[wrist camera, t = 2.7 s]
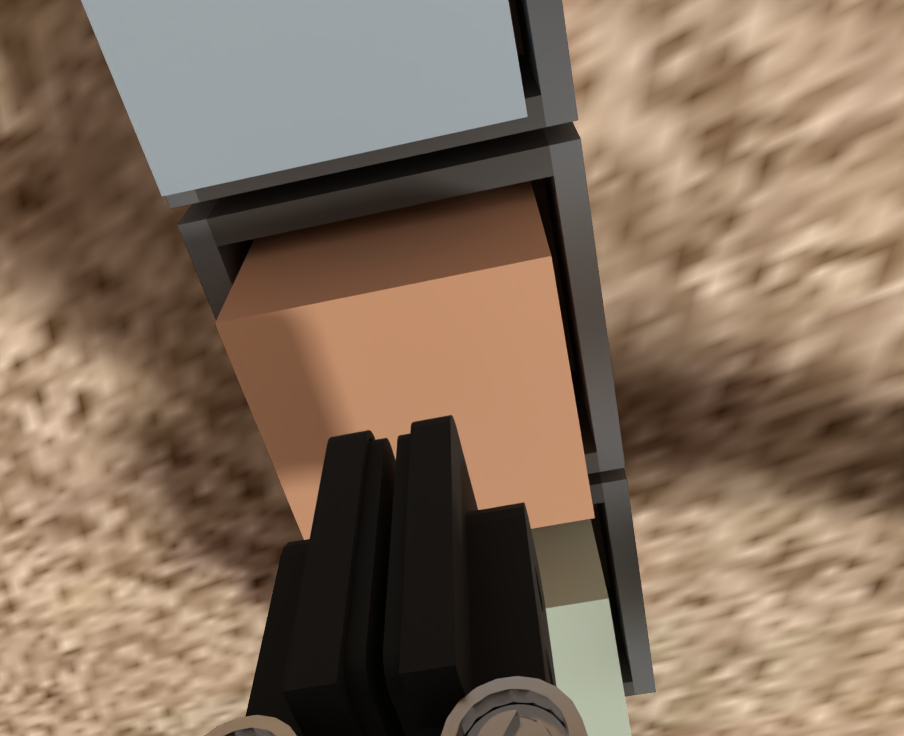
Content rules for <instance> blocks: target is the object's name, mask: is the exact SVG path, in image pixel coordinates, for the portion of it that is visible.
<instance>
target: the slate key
mask: <svg viewBox="0 0 904 736" xmlns="http://www.w3.org/2000/svg"><path fill="white" fill-rule="evenodd" d="M81 2H82V4H83V7H84V9H85V11H86V14H87V16H88V19H89V21H90V24H91V26H92V28H93V31H94V33H95V36H96V38H97V40H98V43H99V45H100V48H101V50H102V53H103V55H104V57H105V60H106V62H107V65H108V67H109V70H110V72H111V74H112V77H113V79H114V82H115V84H116V87H117V89H118V91H119V94H120V96H121V99H122V101H123V103H124V106H125V108H126V111H127V113H128V116H129V118H130V120H131V123H132V125H133V128H134V130H135V133H136V135H137V137H138V140H139V142H140V145H141V147H142V150H143V152H144V154H145V157H146V159H147V162H148V164H149V166H150V169H151V171H152V174H153V176H154V179H155V181H156V183H157V186H158V188H159V191H160V193H161V196H167V195H171V194H176V193H181V192H185V191H190V190H194V189H199V188H203V187H208V186H213V185H217V184H222V183H226V182H231V181H236V180H240V179H245V178H249V177H254V176H258V175H263V174H268V173H272V172H277V171H281V170H286V169H291V168H295V167H300V166H304V165H309V164H313V163H318V162H323V161H327V160H332V159H336V158H341V157H346V156H350V155H355V154H359V153H364V152H368V151H373V150H378V149H382V148H387V147H391V146H396V145H401V144H405V143H410V142H414V141H419V140H423V139H428V138H433V137H437V136H442V135H446V134H451V133H456V132H460V131H465V130H469V129H474V128H478V127H483V126H488V125H492V124H497V123H501V122H506V121H511V120H515V119H520V118H524V117H528V116H527V110H526V104H525V98H524V92H523V86H522V80H521V74H520V68H519V62H518V56H517V50H516V44H515V38H514V32H513V26H512V20H511V14H510V8H509V2H508V0H81Z"/></svg>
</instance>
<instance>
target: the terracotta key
mask: <svg viewBox="0 0 904 736" xmlns="http://www.w3.org/2000/svg"><path fill="white" fill-rule="evenodd" d="M215 325H216V328H217V330H218V333H219V335H220V337H221V340H222V342H223V345H224V347H225V350H226V352H227V354H228V357H229V359H230V362H231V364H232V367H233V369H234V371H235V374H236V376H237V379H238V381H239V384H240V386H241V388H242V391H243V393H244V396H245V398H246V400H247V403H248V405H249V408H250V410H251V413H252V415H253V417H254V420H255V422H256V425H257V427H258V430H259V432H260V434H261V437H262V439H263V442H264V444H265V447H266V449H267V451H268V454H269V456H270V459H271V461H272V464H273V466H274V468H275V471H276V473H277V476H278V478H279V481H280V483H281V485H282V488H283V490H284V493H285V495H286V497H287V500H288V502H289V505H290V507H291V510H292V512H293V514H294V517H295V519H296V522H297V524H298V527H299V529H300V531H301V534H302V536H303V539H304V540H307V539H310V534H311V529H312V523H313V518H314V512H315V507H316V502H317V496H318V491H319V485H320V480H321V474H322V469H323V463H324V458H325V452H326V447H327V442H328V439H329V438H330V437H333V436H339V435H344V434H350V433H355V432H361V431H366V430H370V431H372V433H373V435H374V437H375V440H377V439H382V438H387V439H388V440H389V442H390V444H391V447H392V450H393V453H394V456H395V460H396V451H397V439H398V436H399V435H404V434H410V431H411V423H412V422H415V421H421V420H426V419H432V418H437V417H443V416H448V415H452V416H453V418H454V420H455V424H456V427H457V431H458V435H459V438H460V442H461V446H462V450H463V454H464V458H465V461H466V465H467V469H468V473H469V477H470V480H471V484H472V488H473V492H474V496H475V500H476V503H477V507H478V510H482V509H488V508H494V507H500V506H505V505H511V504H517V503H523V502H524V503H525V506H526V509H527V513H528V518H529V522H530V527H531V529H533V528H539V527H545V526H551V525H556V524H562V523H568V522H574V521H580V520H586V519H592V518H595V516H594V510H593V504H592V498H591V492H590V486H589V480H588V474H587V468H586V461H585V455H584V449H583V443H582V437H581V431H580V425H579V419H578V413H577V407H576V401H575V395H574V389H573V383H572V377H571V371H570V365H569V359H568V353H567V347H566V341H565V335H564V329H563V323H562V317H561V311H560V305H559V299H558V293H557V287H556V281H555V275H554V269H553V263H552V257H551V253H550V249H549V246H548V242H547V239H546V235H545V231H544V228H543V224H542V221H541V217H540V213H539V210H538V206H537V203H536V199H535V195H534V192H533V188H532V185H531V181H527V182H522V183H517V184H512V185H508V186H503V187H498V188H493V189H489V190H484V191H479V192H474V193H470V194H465V195H460V196H455V197H451V198H446V199H441V200H436V201H432V202H427V203H422V204H417V205H413V206H408V207H403V208H398V209H394V210H389V211H384V212H379V213H375V214H370V215H365V216H360V217H356V218H351V219H346V220H341V221H337V222H332V223H327V224H322V225H318V226H313V227H308V228H303V229H299V230H294V231H289V232H284V233H280V234H275V235H270V236H265V237H261V238H256V239H254V241H253V243H252V245H251V247H250V249H249V251H248V254H247V256H246V258H245V260H244V262H243V264H242V266H241V269H240V271H239V273H238V275H237V277H236V279H235V281H234V284H233V286H232V288H231V290H230V292H229V294H228V297H227V299H226V301H225V303H224V305H223V307H222V309H221V312H220V314H219V316H218V318H217V320H216V322H215Z"/></svg>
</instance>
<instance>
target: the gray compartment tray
mask: <svg viewBox="0 0 904 736" xmlns="http://www.w3.org/2000/svg"><path fill="white" fill-rule="evenodd" d="M508 2H509V8H510V14H511V20H512V26H513V32H514V38H515V44H516V50H517V56H518V62H519V68H520V74H521V80H522V86H523V92H524V98H525V104H526V110H527V116H528V117H524V118H520V119H515V120H511V121H506V122H501V123H497V124H492V125H488V126H483V127H478V128H474V129H469V130H465V131H460V132H456V133H451V134H446V135H442V136H437V137H433V138H428V139H423V140H419V141H414V142H410V143H405V144H401V145H396V146H391V147H387V148H382V149H378V150H373V151H368V152H364V153H359V154H355V155H350V156H346V157H341V158H336V159H332V160H327V161H323V162H318V163H313V164H309V165H304V166H300V167H295V168H291V169H286V170H281V171H277V172H272V173H268V174H263V175H258V176H254V177H249V178H245V179H240V180H236V181H231V182H226V183H222V184H217V185H213V186H208V187H203V188H199V189H194V190H190V191H185V192H181V193H176V194H171V195H167V196H166V199H167V201H168V204H169V206H170V208H175V207H180V206H184V205H189V204H192V205H191V206H190V208H189V209H188V211H187V212H186V214H185V215H184V216H183V218H182V219H181V221H180V222H179V224H178V225H177V226H178V228H179V230H180V233H181V235H182V238H183V240H184V243H185V245H186V248H187V250H188V252H189V255H190V257H191V260H192V262H193V265H194V267H195V269H196V272H197V274H198V277H199V279H200V282H201V284H202V287H203V289H204V291H205V294H206V296H207V299H208V301H209V304H210V306H211V308H212V311H213V313H214V316H215V318H216V320H217V318H218V316H219V314H220V312H221V309H222V307H223V305H224V303H225V301H226V299H227V297H228V294H229V292H230V290H231V288H232V286H233V284H234V281H235V279H236V277H237V275H238V273H239V271H240V269H241V266H242V264H243V262H244V260H245V258H246V256H247V254H248V251H249V249H250V247H251V245H252V243H253V241H254V239H256V238H261V237H265V236H270V235H275V234H280V233H284V232H289V231H294V230H299V229H303V228H308V227H313V226H318V225H322V224H327V223H332V222H337V221H341V220H346V219H351V218H356V217H360V216H365V215H370V214H375V213H379V212H384V211H389V210H394V209H398V208H403V207H408V206H413V205H417V204H422V203H427V202H432V201H436V200H441V199H446V198H451V197H455V196H460V195H465V194H470V193H474V192H479V191H484V190H489V189H493V188H498V187H503V186H508V185H512V184H517V183H522V182H527V181H531V185H532V188H533V192H534V195H535V199H536V203H537V206H538V210H539V213H540V217H541V221H542V224H543V228H544V231H545V235H546V239H547V242H548V246H549V249H550V253H551V257H552V263H553V269H554V275H555V281H556V287H557V293H558V299H559V305H560V311H561V317H562V323H563V329H564V335H565V341H566V347H567V353H568V359H569V365H570V371H571V377H572V383H573V389H574V395H575V401H576V407H577V413H578V419H579V425H580V431H581V437H582V443H583V449H584V455H585V461H586V468H587V474H588V480H589V486H590V492H591V498H592V504H593V510H594V516H595V518H592V519H591V523H592V528H593V532H594V536H595V541H596V545H597V550H598V554H599V558H600V563H601V567H602V572H603V576H604V580H605V585H606V589H607V594H608V598H609V604H610V610H611V616H612V622H613V628H614V634H615V640H616V646H617V652H618V658H619V664H620V670H621V676H622V682H623V688H624V694H625V696H632V695H638V694H645V693H652V692H656V690H655V683H654V675H653V668H652V661H651V653H650V646H649V639H648V631H647V624H646V617H645V609H644V602H643V594H642V587H641V580H640V572H639V565H638V558H637V550H636V543H635V535H634V528H633V521H632V513H631V506H630V499H629V491H628V484H627V478H626V475H625V471H624V468H625V462H624V454H623V447H622V440H621V432H620V425H619V417H618V410H617V403H616V395H615V388H614V381H613V373H612V366H611V359H610V351H609V344H608V336H607V329H606V322H605V314H604V307H603V300H602V292H601V285H600V277H599V270H598V263H597V255H596V248H595V241H594V233H593V226H592V218H591V211H590V204H589V196H588V189H587V182H586V174H585V167H584V159H583V152H582V145H581V139H580V136H579V134H578V132H577V130H576V128H575V126H574V124H573V122H572V121H577V120H578V115H577V108H576V101H575V93H574V86H573V78H572V71H571V64H570V56H569V49H568V42H567V34H566V27H565V19H564V12H563V5H562V0H508Z"/></svg>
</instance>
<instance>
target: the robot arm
mask: <svg viewBox="0 0 904 736" xmlns="http://www.w3.org/2000/svg"><path fill="white" fill-rule="evenodd" d="M205 736H588V734H587V731H586V729H585V726H584V723H583V720H582V718H581V716H580V714H579V712H578V710H577V708H576V707H575V705H574V703H573V701H572V700H571V699H570V698H569V697H568V696H567V695H565V694H564V693H563V692H562V691H561V690H560V689H559V688H558V687H557V686H556V679H555V672H554V665H553V657H552V650H551V643H550V636H549V628H548V621H547V614H546V607H545V600H544V594H543V588H542V582H541V576H540V570H539V565H538V560H537V555H536V550H535V545H534V540H533V536H532V531H531V527H530V522H529V518H528V513H527V509H526V506H525V503H524V502H523V503H517V504H511V505H505V506H500V507H494V508H488V509H482V510H478V507H477V503H476V500H475V496H474V492H473V488H472V484H471V480H470V477H469V473H468V469H467V465H466V461H465V458H464V454H463V450H462V446H461V442H460V438H459V435H458V431H457V427H456V424H455V420H454V418H453V416H452V415H448V416H443V417H437V418H432V419H426V420H421V421H415V422H412V423H411V431H410V434H404V435H399V436H398V439H397V451H396V460H395V456H394V453H393V450H392V447H391V444H390V442H389V440H388V439H387V438H382V439H377V440H375V437H374V435H373V433H372V431H370V430H366V431H361V432H355V433H350V434H344V435H339V436H333V437H330V438H329V439H328V442H327V447H326V452H325V458H324V463H323V469H322V474H321V480H320V485H319V491H318V496H317V502H316V507H315V512H314V518H313V523H312V529H311V534H310V539H307V540H301V541H295V542H289V543H287V544H286V546H285V547H284V548H283V551H282V554H281V558H280V562H279V567H278V571H277V576H276V580H275V585H274V589H273V594H272V599H271V603H270V608H269V612H268V617H267V621H266V626H265V631H264V635H263V640H262V644H261V649H260V653H259V658H258V662H257V667H256V672H255V676H254V681H253V685H252V690H251V694H250V699H249V704H248V708H247V713H246V717H240V718H236V719H234V720H231V721H229V722H227V723H224V724H222V725H220V726H217V727H216V728H214V729H213V730H212V731H210V732H209V733H207V734H206V735H205Z"/></svg>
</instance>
